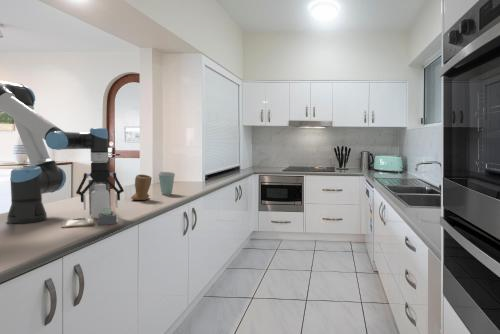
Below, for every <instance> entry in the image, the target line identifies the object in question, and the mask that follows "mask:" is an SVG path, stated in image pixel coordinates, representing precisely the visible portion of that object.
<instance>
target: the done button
mask: <svg viewBox="0 0 500 334" xmlns="http://www.w3.org/2000/svg"><path fill="white" fill-rule="evenodd" d="M111 213H112V208H105V209H103V216H106V215H111Z"/></svg>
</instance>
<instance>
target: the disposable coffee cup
mask: <svg viewBox="0 0 500 334" xmlns="http://www.w3.org/2000/svg"><path fill="white" fill-rule="evenodd" d="M157 176H158V181H159V187H160V192H161V195H163V196H166V195H167V196H170V195H172V193H173V188H174V180H175V176H176V174H175V173H174V172H173V171H172V172H170V171H159V172H158V175H157Z"/></svg>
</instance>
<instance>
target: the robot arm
mask: <svg viewBox="0 0 500 334" xmlns="http://www.w3.org/2000/svg"><path fill="white" fill-rule="evenodd" d="M35 102H36V96H35V93H34V92H33V90H32V89H31V88H30V87H28V86H26V85H23V84H22V83H13V82H9V81H5V80H4V81H3V80H0V112H3V113H6V114H7V116H8V117H11V118H12V120H13V123H14V126H15V127H16V130H17V132H18V135H19V138H20V140H21V143H22V145H23V148H24V150H25V153H26V155H27V158H28V161H29V163H30V165H26V166H18V167H15V168H12V170H11V171H10V178H9V179H10V195H11V196H10V197H11V201H10V202H11V205H10V207H9V211H8V214H7V216H6V221H7V223H9V224H31V223H38V222H43V221H46V220H47V219H48V215H47V212H46V211H47V210H46V209H45V206H44V204H43V196H42V195H43V194H48V193H54V192H57V191H60V190H61V189H62V188H63V187H64V186H65V183H66V181H67V175H66V174H67V173H66V172H65V170H64V169H63V168H62V167H59V166H58V165H57V163H56V160H55V159H51V157H50V154H49V152H48V150H47V147H48V148H49V149H52V150H57V151H59V150H60V151H61V150H90V173H88V172H87V173H86V172H84V173H83V177H82V180H81V182H80V184H79V185H78V188H77V190H76V193H75V194H76V195H79V196H80V202H81V203H83V211H86V210H87V209H86V207H87V206H86V205H87V204H86V201H87V200H86V194H85V193H86V192H87V191H89V187H90V186H91V185H92V184H93V183H94V182H96V183H99V182H102V183H104V182H105V181H106V182H107V183H108V184H109V185H110V188H112V190H114V191H115V194H114V196H115V199H114V200H115V205H114V206H115V209H118V207H119V206H118V201H120V200H121V194H122V193H124V188H123V187H122V184H121V183H120V180H118V177H117V173H116V171H113V172H110V171H109V169H110V168H109V135H108V134H109V133H108V129H107V128H105V127H90V129H89V132H76V131H75V132H73V131H72V132H71V131H64V130H63V129H61V128H60V127H58V126H56V125H55V124H53V122H51V121H50V120H48V119H46V118H45V117H43V116H42V115H41V114H39V113H38V112H37V111H36V110H35V106H34V105H35ZM46 145H47V146H46ZM110 176H111V177H112V178H113V179H114V181H115V183H116V184H117V186H118V188H119V189H118V188H117V187H116V186H115V185H114V184H113V182H111V180H110V181H109V180H108V179H109V177H110ZM89 177H90V178H91V179H90V180H91V182H90V183H89V182H88V184H87V185H86V186H85V187H84V189H83V186H84V184H85V182H86V180H87V179H89ZM82 189H83V190H82ZM81 190H82V191H81Z"/></svg>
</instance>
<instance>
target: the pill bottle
mask: <svg viewBox="0 0 500 334" xmlns="http://www.w3.org/2000/svg"><path fill="white" fill-rule="evenodd" d="M94 188H95V189H94V190H95V191H93V192H92V193H91V213H90V214H91V219H92V218H94V220H97V219H98V220H99V214H102V213H103V209H105V208H110V201H111V192H110V193H109V191H107V190H106V184H97V185H94Z"/></svg>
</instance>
